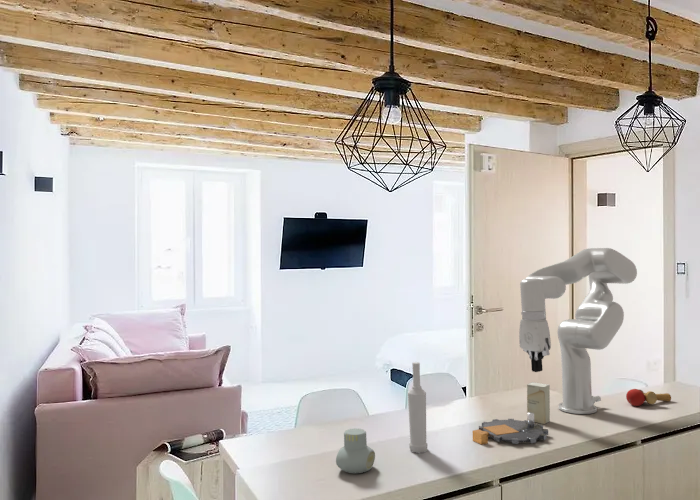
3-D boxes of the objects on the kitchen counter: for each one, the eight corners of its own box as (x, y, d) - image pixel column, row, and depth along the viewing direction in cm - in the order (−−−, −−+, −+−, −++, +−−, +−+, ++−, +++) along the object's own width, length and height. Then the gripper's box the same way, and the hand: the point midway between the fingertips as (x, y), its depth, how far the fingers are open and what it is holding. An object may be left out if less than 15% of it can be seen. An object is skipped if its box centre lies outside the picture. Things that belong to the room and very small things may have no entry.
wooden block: (513, 430, 174) (513, 420, 174) (530, 436, 168) (529, 426, 168) (469, 439, 166) (469, 429, 166) (484, 446, 160) (484, 435, 160)
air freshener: (349, 460, 152) (348, 424, 152) (377, 464, 149) (376, 426, 149) (333, 475, 142) (332, 436, 142) (363, 479, 139) (362, 439, 139)
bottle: (427, 447, 161) (424, 361, 161) (428, 453, 156) (425, 364, 156) (409, 446, 161) (406, 361, 162) (409, 453, 156) (407, 364, 156)
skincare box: (526, 420, 183) (525, 384, 183) (532, 417, 186) (531, 381, 186) (545, 424, 179) (544, 386, 179) (551, 421, 182) (549, 384, 182)
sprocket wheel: (522, 419, 182) (521, 403, 182) (563, 438, 162) (562, 420, 162) (466, 426, 176) (466, 410, 176) (502, 447, 156) (501, 428, 157)
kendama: (656, 402, 206) (618, 400, 201) (660, 385, 206) (622, 383, 200) (674, 411, 199) (635, 409, 193) (678, 394, 198) (639, 392, 193)
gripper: (509, 315, 188) (512, 368, 188) (542, 319, 174) (545, 377, 174) (526, 312, 191) (529, 365, 191) (559, 316, 177) (563, 373, 178)
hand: (537, 371), depth 183 cm, fingers closed
